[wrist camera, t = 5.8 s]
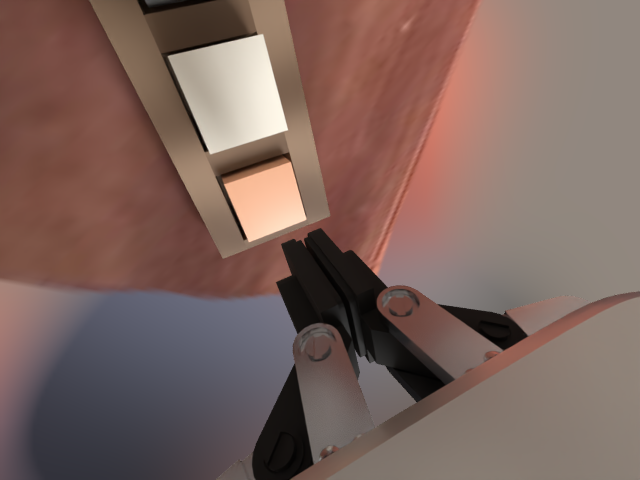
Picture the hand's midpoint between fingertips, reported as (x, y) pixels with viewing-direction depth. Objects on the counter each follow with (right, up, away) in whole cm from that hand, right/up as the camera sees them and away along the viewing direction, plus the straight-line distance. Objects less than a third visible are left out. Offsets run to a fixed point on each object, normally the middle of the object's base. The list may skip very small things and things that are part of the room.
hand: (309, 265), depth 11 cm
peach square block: (-4, +5, +8) cm, 10 cm away
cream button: (-5, +9, +4) cm, 11 cm away
